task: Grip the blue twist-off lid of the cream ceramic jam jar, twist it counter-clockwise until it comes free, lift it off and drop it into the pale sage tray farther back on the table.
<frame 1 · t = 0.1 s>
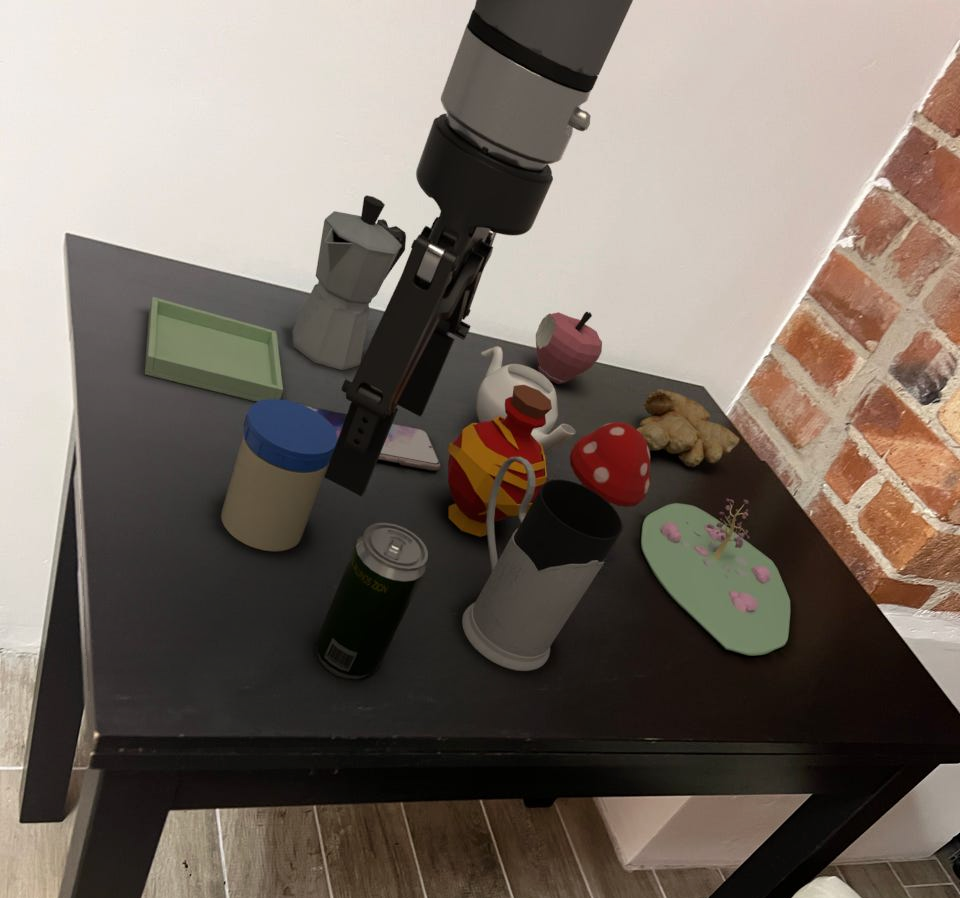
hand: (377, 442, 65), 17 cm above the table, tool pointing down, fingers open, 13 cm apart
apple: (550, 379, 128), on the table
decorative mushroom: (563, 546, 98), on the table
tray: (212, 360, 96), on the table
beer can: (345, 658, 73), on the table
smartphone: (367, 443, 96), on the table
jar: (262, 524, 80), on the table
plant: (719, 583, 106), on the table
glass holder: (490, 615, 84), on the table
lid: (292, 430, 74), point 10 cm above the table, screwed on, not yet turned
teapot: (496, 447, 108), on the table
potion bottle: (470, 521, 94), on the table
ginger root: (666, 445, 128), on the table
coffee maker: (331, 349, 108), on the table
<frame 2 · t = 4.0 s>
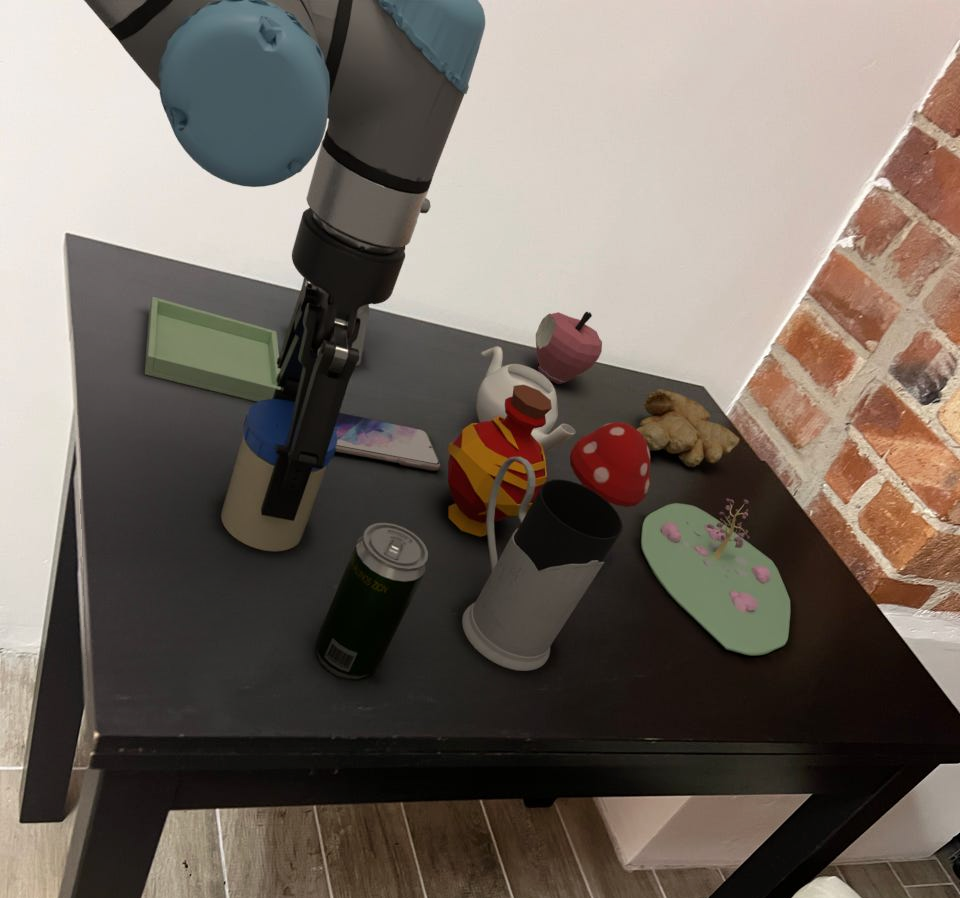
hand: (274, 485, 77), 4 cm above the table, tool pointing down, fingers closed on lid, 7 cm apart
lid: (292, 430, 74), point 10 cm above the table, screwed on, not yet turned, touching gripper
everything else where it was.
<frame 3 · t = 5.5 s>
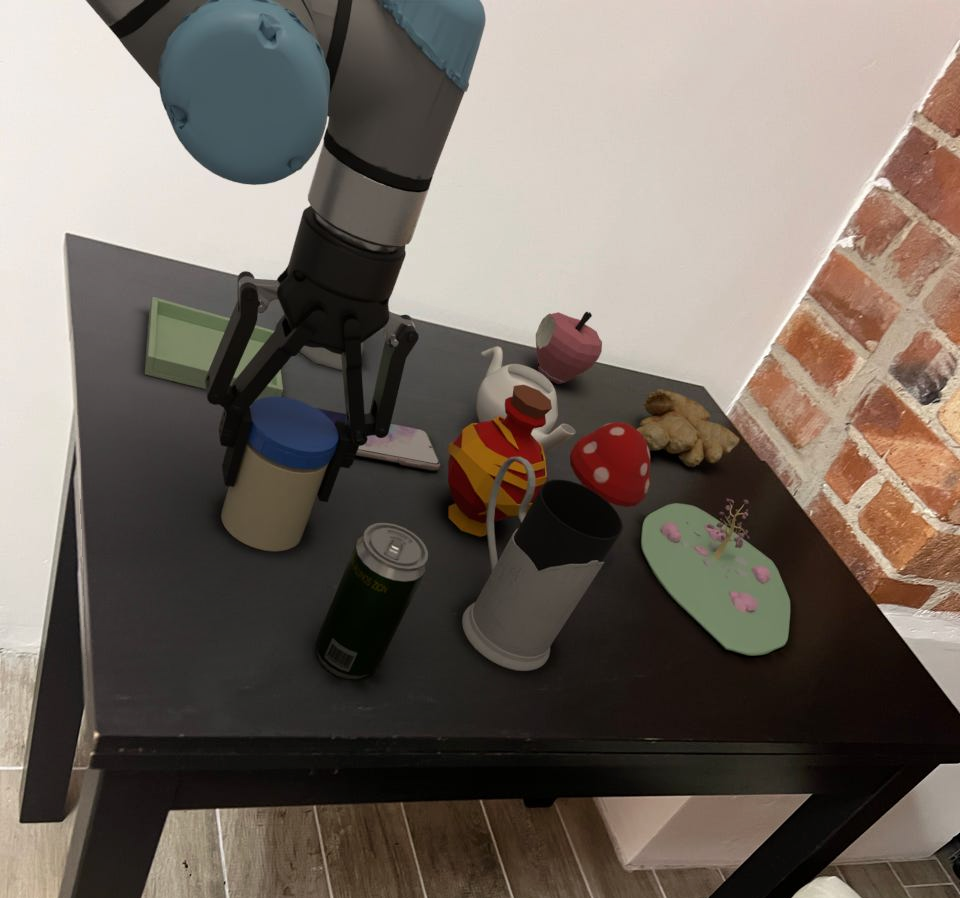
hand: (275, 484, 77), 4 cm above the table, tool pointing down, fingers closed on lid, 7 cm apart
lid: (293, 428, 74), point 10 cm above the table, turned 93° so far, risen 0.2 cm, still on its thread, touching gripper
everything else where it was.
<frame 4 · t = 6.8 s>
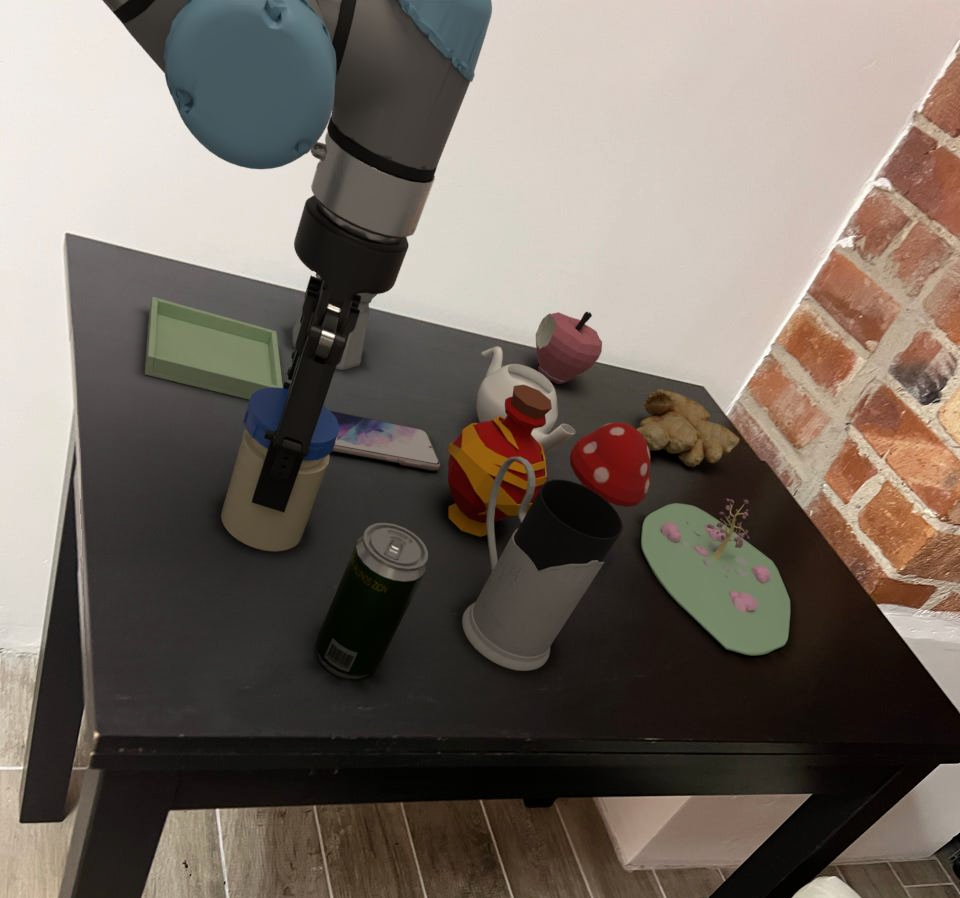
hand: (274, 477, 77), 5 cm above the table, tool pointing down, fingers closed on lid, 7 cm apart
jar: (262, 524, 80), on the table, touching gripper
lid: (293, 419, 73), point 11 cm above the table, off its thread, touching gripper
everything else where it was.
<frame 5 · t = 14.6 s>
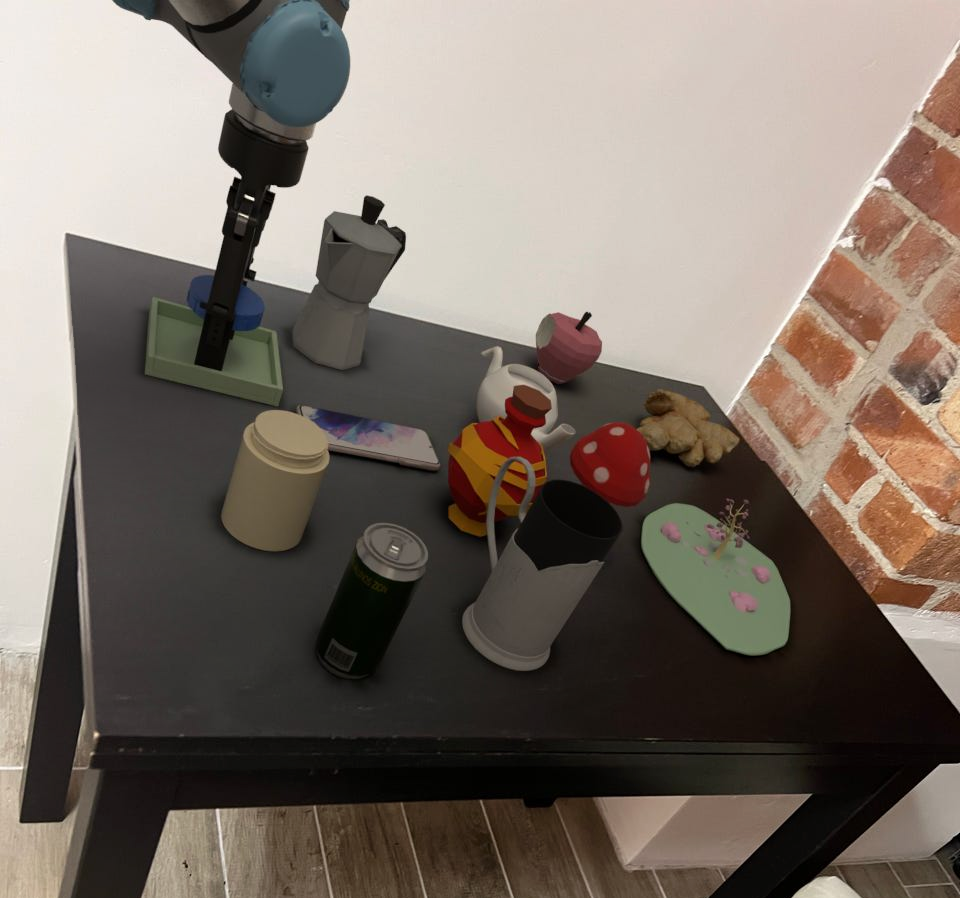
hand: (214, 350, 95), 1 cm above the table, tool pointing down, fingers closed on lid, 7 cm apart
jar: (262, 524, 80), on the table
lid: (227, 299, 91), point 7 cm above the table, off its thread, touching gripper
everything else where it was.
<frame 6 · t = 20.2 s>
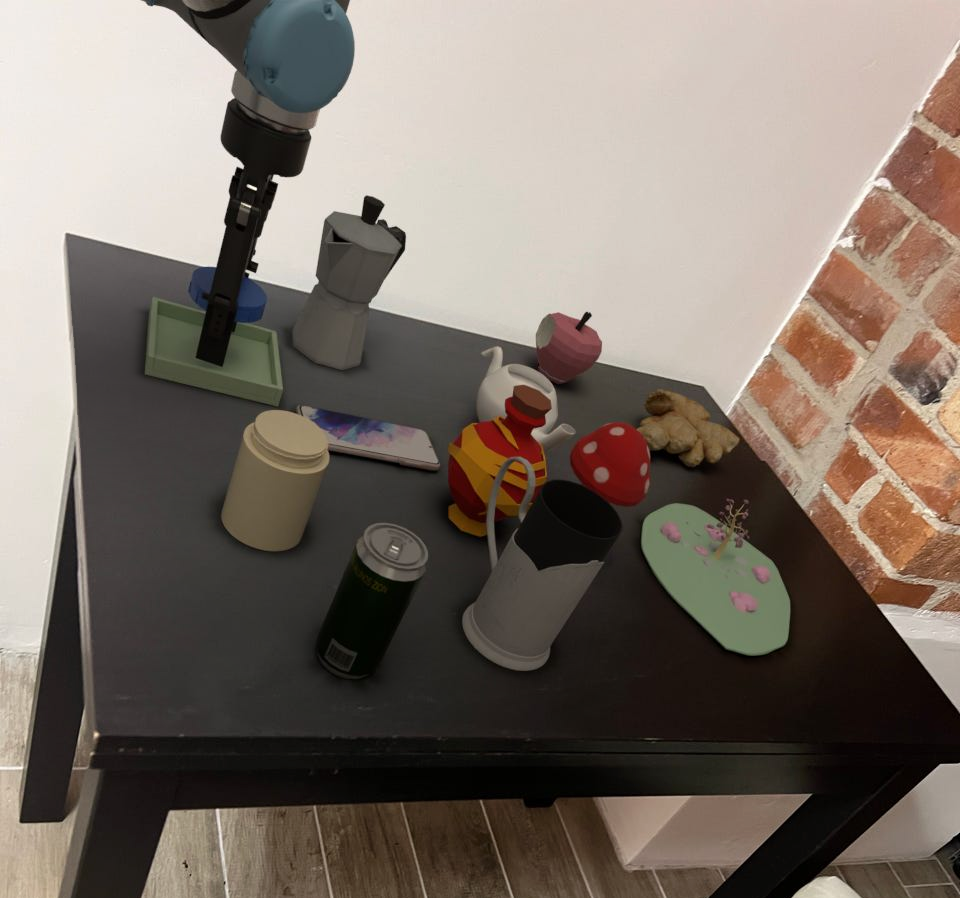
hand: (216, 342, 94), 2 cm above the table, tool pointing down, fingers closed on lid, 7 cm apart
lid: (229, 290, 91), point 8 cm above the table, off its thread, touching gripper
everything else where it was.
when the fingers open (3 cm above the table, at t = 25.7 s): lid drops 7 cm, resting on tray.
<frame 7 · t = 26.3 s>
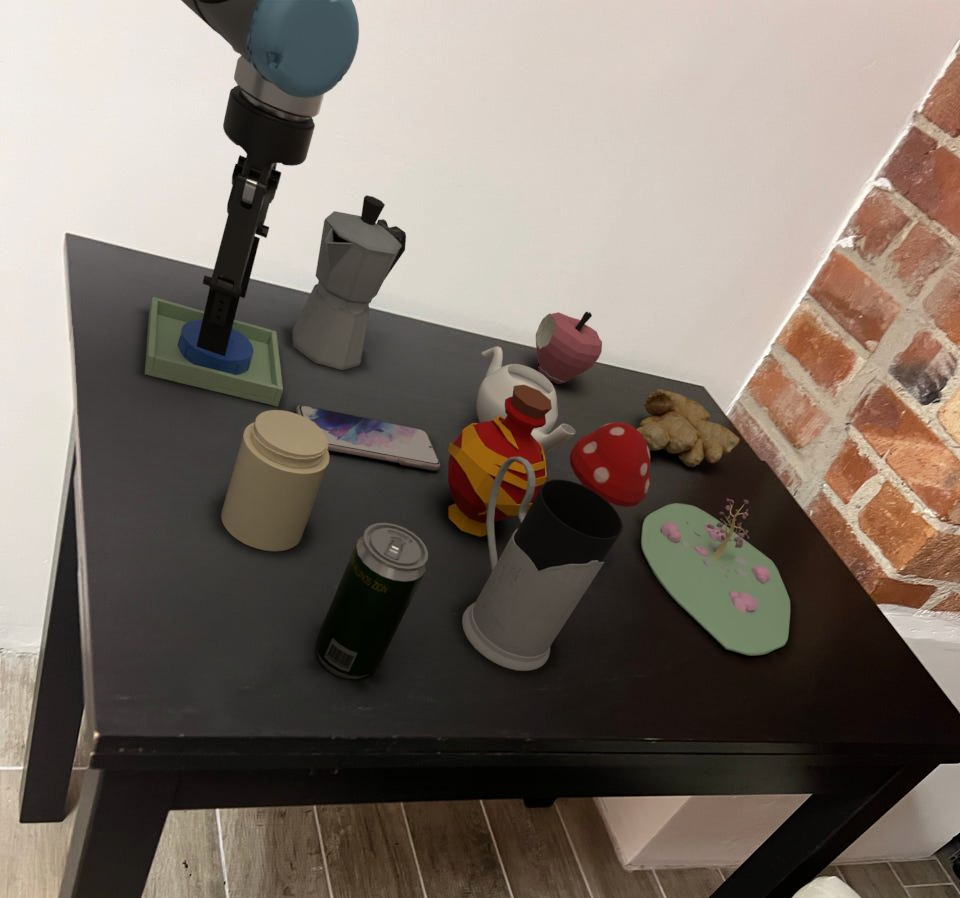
hand: (222, 319, 93), 5 cm above the table, tool pointing down, fingers open, 13 cm apart
lid: (217, 344, 95), point 2 cm above the table, off its thread, touching tray
everything else where it was.
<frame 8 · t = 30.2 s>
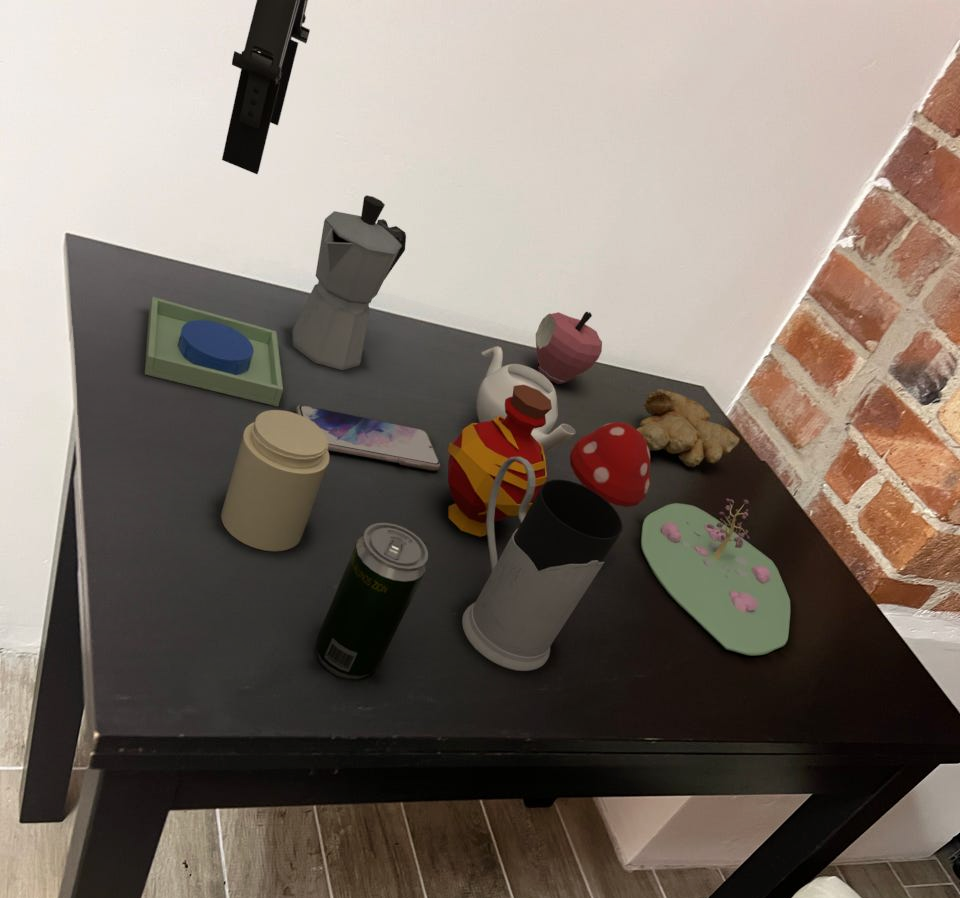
hand: (252, 140, 74), 25 cm above the table, tool pointing down, fingers open, 13 cm apart
nothing on the table moved.
at the end: lid came off its thread; lid inside the target area in the tray (0.1 cm from its centre), point 1.9 cm above the tray's base; the gripper is holding nothing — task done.
